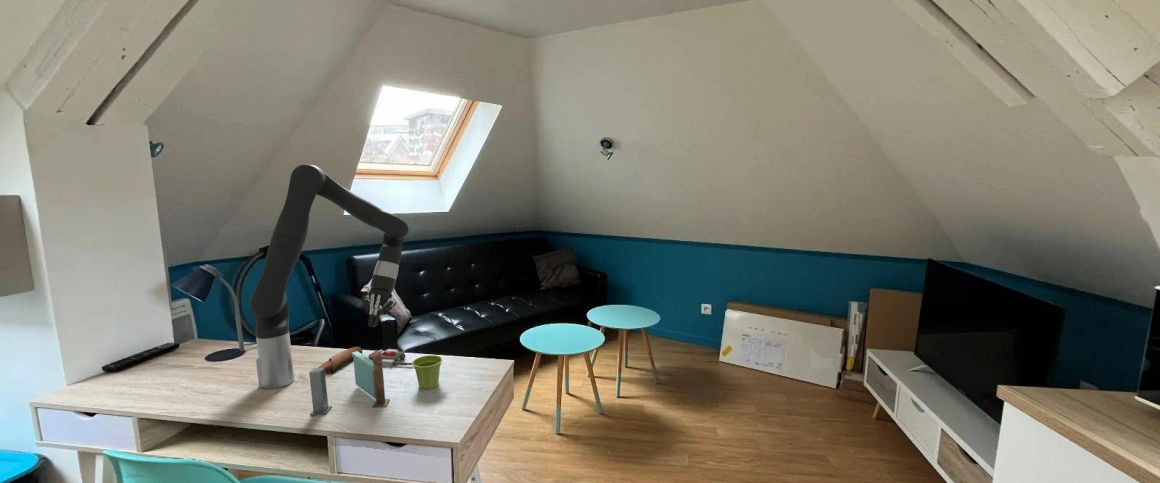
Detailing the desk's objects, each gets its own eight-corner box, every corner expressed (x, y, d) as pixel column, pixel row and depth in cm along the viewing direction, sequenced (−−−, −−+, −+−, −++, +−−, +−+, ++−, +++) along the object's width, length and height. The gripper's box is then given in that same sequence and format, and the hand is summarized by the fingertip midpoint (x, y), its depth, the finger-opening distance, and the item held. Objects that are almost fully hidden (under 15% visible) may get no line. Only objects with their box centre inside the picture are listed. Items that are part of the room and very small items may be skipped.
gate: (381, 398, 147) (378, 364, 145) (375, 400, 146) (372, 366, 144) (360, 382, 158) (357, 351, 156) (354, 384, 156) (351, 352, 155)
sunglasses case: (342, 353, 185) (349, 339, 184) (358, 362, 185) (364, 349, 184) (311, 373, 168) (318, 358, 166) (328, 383, 168) (335, 368, 166)
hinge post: (372, 407, 143) (368, 358, 140) (376, 401, 147) (372, 353, 144) (386, 407, 143) (382, 357, 141) (389, 400, 147) (386, 352, 145)
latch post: (310, 415, 139) (305, 373, 137) (316, 408, 143) (312, 367, 141) (325, 414, 139) (321, 372, 137) (331, 407, 144) (327, 366, 141)
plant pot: (449, 385, 157) (447, 360, 156) (423, 395, 151) (421, 369, 149) (434, 376, 164) (432, 352, 162) (408, 386, 157) (406, 361, 156)
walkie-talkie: (361, 366, 174) (412, 369, 171) (360, 354, 174) (411, 357, 171) (375, 356, 183) (424, 359, 180) (374, 345, 182) (423, 348, 179)
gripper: (361, 271, 161) (348, 322, 158) (394, 276, 158) (381, 328, 154) (376, 275, 168) (363, 324, 165) (407, 280, 165) (395, 330, 161)
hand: (372, 326), depth 159 cm, fingers closed
